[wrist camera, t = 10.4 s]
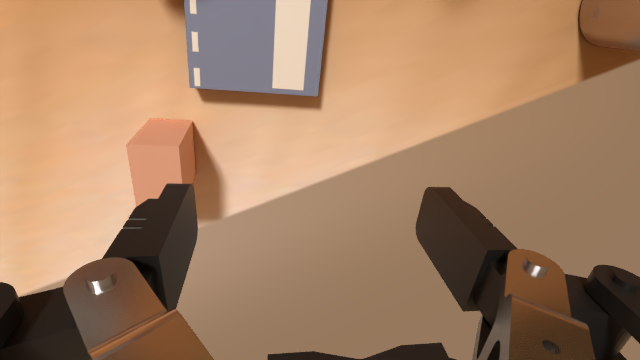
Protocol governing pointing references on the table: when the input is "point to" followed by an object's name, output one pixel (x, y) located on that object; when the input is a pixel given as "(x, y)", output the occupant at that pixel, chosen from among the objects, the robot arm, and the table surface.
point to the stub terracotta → (161, 157)
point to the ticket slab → (255, 45)
